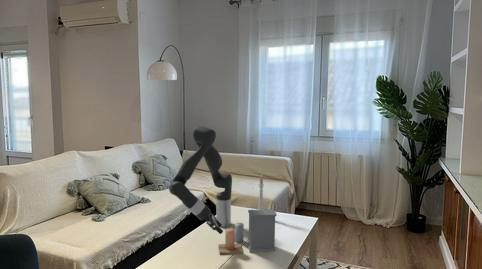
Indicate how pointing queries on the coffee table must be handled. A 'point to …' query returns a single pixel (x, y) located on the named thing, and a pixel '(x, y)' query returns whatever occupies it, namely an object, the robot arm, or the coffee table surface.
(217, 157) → the robot arm
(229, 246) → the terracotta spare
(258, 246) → the post
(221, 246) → the pad
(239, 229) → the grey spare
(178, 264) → the coffee table surface
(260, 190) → the candlestick
